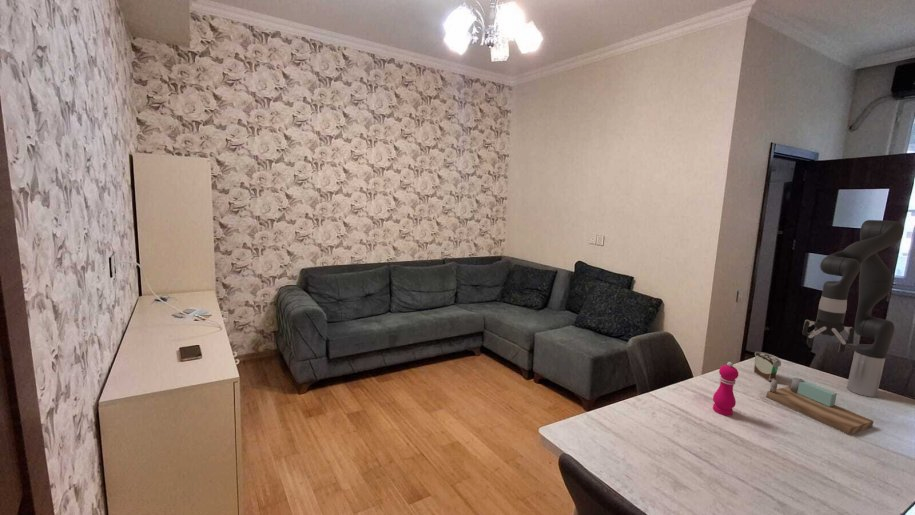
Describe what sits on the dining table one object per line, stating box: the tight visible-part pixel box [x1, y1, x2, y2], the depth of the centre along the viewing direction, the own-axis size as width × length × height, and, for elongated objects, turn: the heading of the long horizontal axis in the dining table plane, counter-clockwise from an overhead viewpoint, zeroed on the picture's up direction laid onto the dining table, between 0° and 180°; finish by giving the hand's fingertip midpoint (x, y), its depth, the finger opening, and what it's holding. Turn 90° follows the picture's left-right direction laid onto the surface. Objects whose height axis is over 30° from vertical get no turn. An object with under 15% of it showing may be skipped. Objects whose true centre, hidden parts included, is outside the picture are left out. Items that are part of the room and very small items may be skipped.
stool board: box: [765, 379, 875, 436], centre depth 154 cm, size 15×27×8 cm, turn 21°
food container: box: [753, 351, 782, 383], centre depth 182 cm, size 12×6×10 cm, turn 179°
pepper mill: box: [712, 361, 739, 417], centre depth 150 cm, size 7×7×20 cm
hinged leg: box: [790, 377, 838, 407], centre depth 159 cm, size 14×4×5 cm, turn 21°
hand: (824, 349), depth 153 cm, fingers open, 8 cm apart
